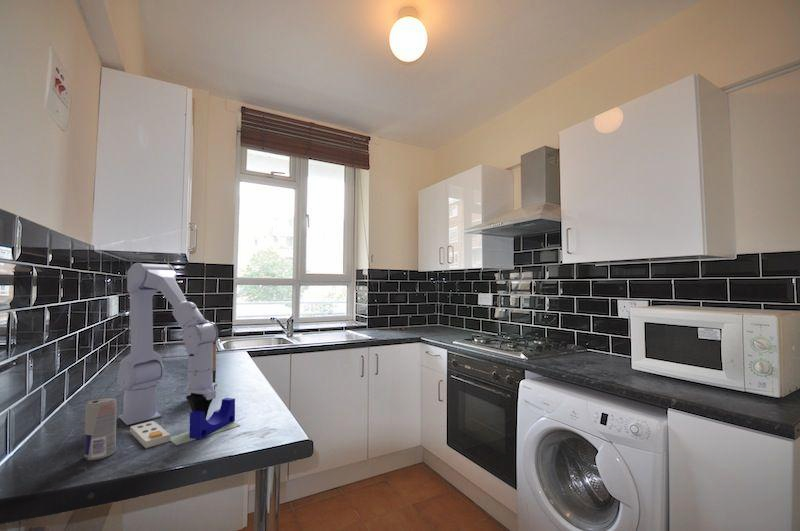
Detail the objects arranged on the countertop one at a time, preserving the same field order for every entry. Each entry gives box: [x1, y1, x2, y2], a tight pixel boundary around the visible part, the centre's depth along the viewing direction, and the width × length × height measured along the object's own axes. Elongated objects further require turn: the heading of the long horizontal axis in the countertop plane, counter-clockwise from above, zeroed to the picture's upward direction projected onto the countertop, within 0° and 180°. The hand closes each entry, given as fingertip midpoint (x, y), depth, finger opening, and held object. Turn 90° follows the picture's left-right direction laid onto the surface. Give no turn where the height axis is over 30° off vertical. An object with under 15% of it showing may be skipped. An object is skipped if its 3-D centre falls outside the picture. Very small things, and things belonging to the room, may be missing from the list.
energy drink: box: [83, 396, 118, 461], centre depth 80 cm, size 5×5×12 cm
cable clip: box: [189, 397, 236, 440], centre depth 93 cm, size 12×4×6 cm, turn 164°
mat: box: [169, 421, 241, 446], centre depth 91 cm, size 6×15×1 cm, turn 139°
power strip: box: [129, 420, 171, 449], centre depth 89 cm, size 14×5×2 cm, turn 49°
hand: (200, 422), depth 94 cm, fingers closed
